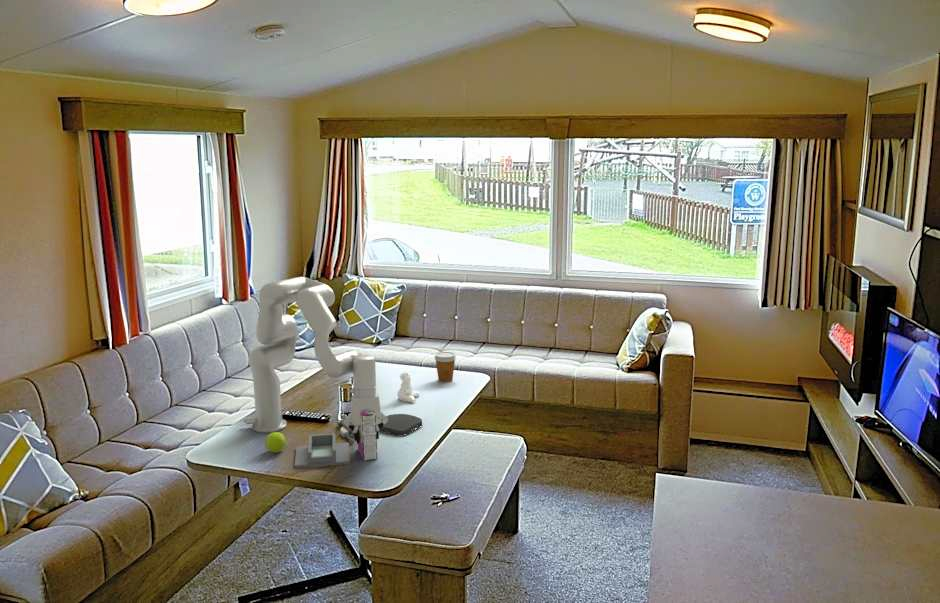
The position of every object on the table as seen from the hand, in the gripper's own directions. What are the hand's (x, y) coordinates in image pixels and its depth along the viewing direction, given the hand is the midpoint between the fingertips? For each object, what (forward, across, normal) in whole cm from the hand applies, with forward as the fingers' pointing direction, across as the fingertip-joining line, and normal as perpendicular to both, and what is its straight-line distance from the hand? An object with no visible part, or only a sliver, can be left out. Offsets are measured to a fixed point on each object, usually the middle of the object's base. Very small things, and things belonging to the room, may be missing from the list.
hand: (366, 441), depth 261 cm
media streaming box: (+5, +13, +23) cm, 27 cm away
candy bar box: (+5, 0, 0) cm, 5 cm away
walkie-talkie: (+5, -4, +20) cm, 21 cm away
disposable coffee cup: (+5, +38, +75) cm, 84 cm away
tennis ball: (+5, -31, +8) cm, 32 cm away
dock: (+5, -15, +1) cm, 16 cm away
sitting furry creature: (+5, +19, +53) cm, 57 cm away
